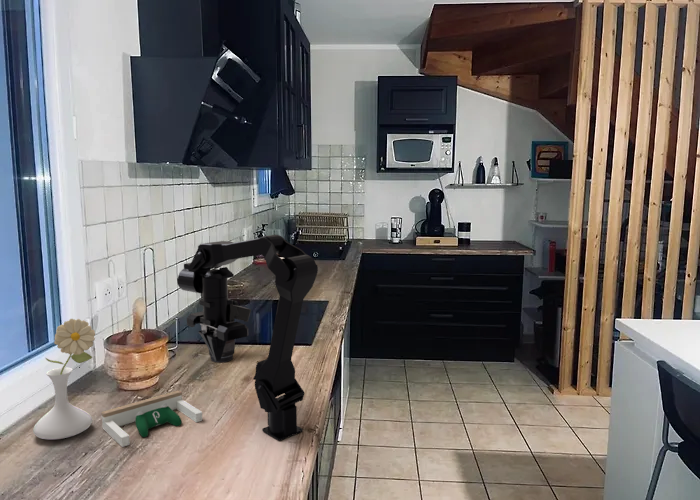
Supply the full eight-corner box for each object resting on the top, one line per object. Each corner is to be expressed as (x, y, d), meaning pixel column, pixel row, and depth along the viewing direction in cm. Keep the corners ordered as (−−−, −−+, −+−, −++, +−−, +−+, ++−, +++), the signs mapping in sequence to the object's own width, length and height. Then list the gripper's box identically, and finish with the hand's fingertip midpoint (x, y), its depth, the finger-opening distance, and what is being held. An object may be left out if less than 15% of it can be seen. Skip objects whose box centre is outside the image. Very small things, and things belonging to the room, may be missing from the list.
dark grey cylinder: (221, 353, 171) (219, 306, 169) (240, 357, 167) (239, 309, 165) (202, 360, 164) (200, 312, 162) (222, 365, 160) (220, 315, 158)
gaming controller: (178, 430, 123) (168, 406, 125) (183, 422, 120) (173, 398, 123) (138, 443, 116) (129, 419, 119) (143, 436, 114) (133, 411, 117)
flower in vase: (30, 449, 110) (20, 330, 107) (37, 426, 120) (28, 316, 117) (100, 437, 115) (93, 323, 112) (101, 416, 125) (95, 310, 122)
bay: (202, 420, 123) (201, 404, 123) (122, 446, 111) (121, 429, 110) (179, 405, 131) (178, 390, 131) (102, 428, 119) (101, 411, 119)
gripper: (267, 296, 124) (268, 362, 126) (225, 285, 138) (227, 344, 140) (224, 304, 117) (226, 373, 119) (184, 291, 130) (187, 354, 132)
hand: (217, 360), depth 128 cm, fingers closed
